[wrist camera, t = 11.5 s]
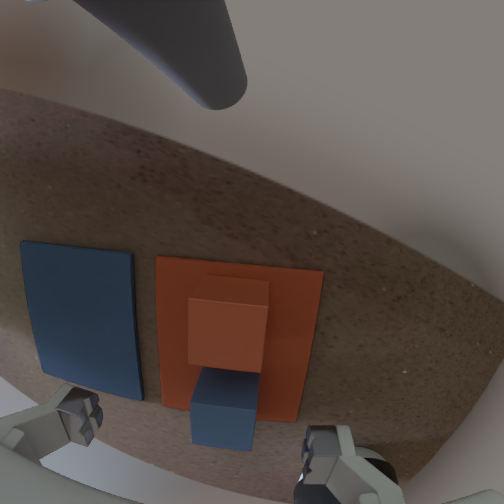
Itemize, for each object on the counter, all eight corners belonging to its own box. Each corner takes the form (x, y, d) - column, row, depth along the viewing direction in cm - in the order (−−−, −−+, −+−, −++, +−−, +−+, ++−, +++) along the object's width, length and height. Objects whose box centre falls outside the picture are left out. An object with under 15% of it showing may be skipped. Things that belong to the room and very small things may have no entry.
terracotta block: (204, 274, 22) (187, 297, 18) (269, 280, 22) (268, 306, 18) (202, 331, 24) (188, 364, 19) (263, 338, 23) (261, 373, 19)
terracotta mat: (157, 255, 23) (155, 257, 22) (322, 270, 22) (324, 273, 22) (164, 402, 26) (162, 406, 26) (295, 418, 26) (296, 422, 25)
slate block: (202, 366, 24) (189, 401, 20) (259, 373, 24) (256, 410, 20) (202, 407, 25) (191, 443, 21) (255, 414, 25) (251, 451, 21)
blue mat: (23, 240, 24) (19, 241, 23) (133, 252, 23) (130, 254, 22) (45, 369, 27) (42, 372, 26) (144, 398, 26) (142, 401, 26)
